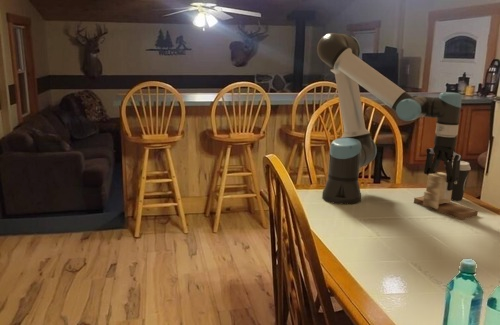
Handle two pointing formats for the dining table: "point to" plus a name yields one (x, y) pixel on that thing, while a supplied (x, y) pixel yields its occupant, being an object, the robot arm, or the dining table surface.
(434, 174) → the tan block with peg
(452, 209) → the plank
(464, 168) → the coffee cup
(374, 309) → the dining table surface
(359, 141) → the robot arm
